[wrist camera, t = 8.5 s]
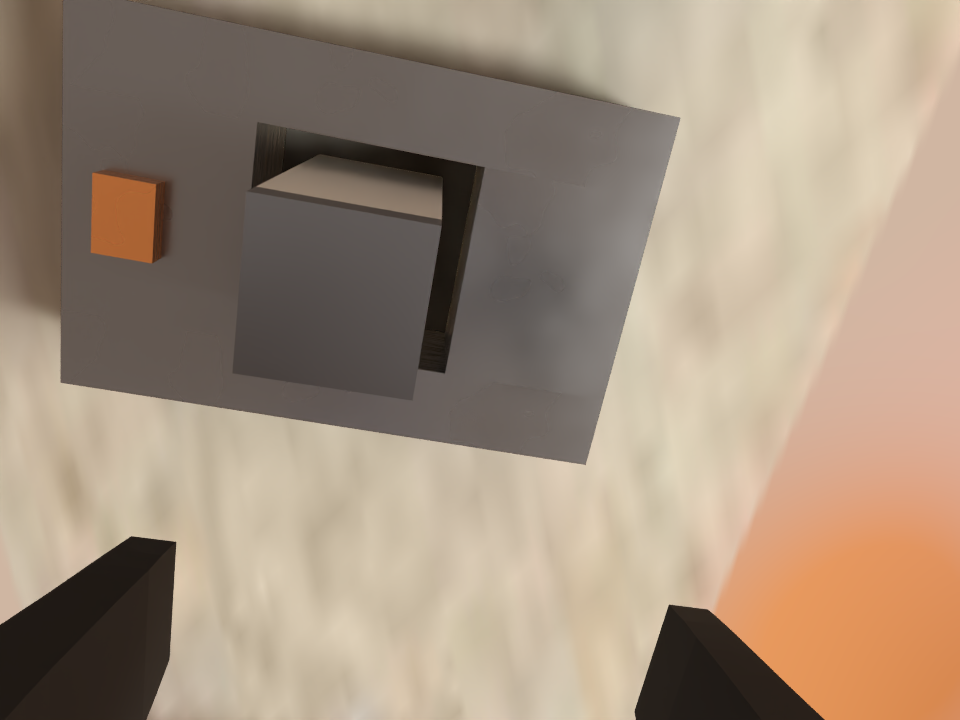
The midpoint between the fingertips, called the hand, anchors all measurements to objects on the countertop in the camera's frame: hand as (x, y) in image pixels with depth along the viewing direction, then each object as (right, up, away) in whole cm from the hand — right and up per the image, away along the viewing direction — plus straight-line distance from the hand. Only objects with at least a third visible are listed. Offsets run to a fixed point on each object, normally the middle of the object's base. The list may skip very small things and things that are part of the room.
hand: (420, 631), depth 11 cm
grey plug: (-2, +7, +8) cm, 11 cm away
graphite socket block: (-2, +7, +8) cm, 11 cm away
